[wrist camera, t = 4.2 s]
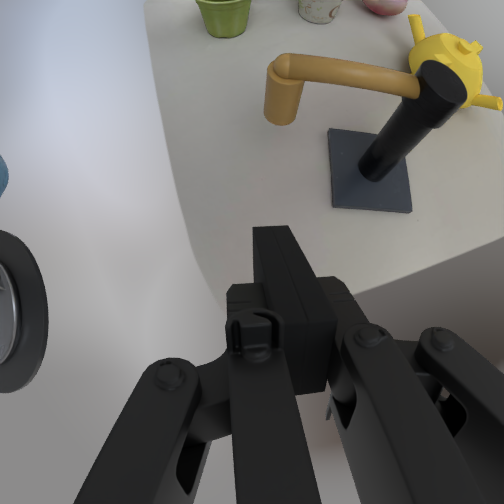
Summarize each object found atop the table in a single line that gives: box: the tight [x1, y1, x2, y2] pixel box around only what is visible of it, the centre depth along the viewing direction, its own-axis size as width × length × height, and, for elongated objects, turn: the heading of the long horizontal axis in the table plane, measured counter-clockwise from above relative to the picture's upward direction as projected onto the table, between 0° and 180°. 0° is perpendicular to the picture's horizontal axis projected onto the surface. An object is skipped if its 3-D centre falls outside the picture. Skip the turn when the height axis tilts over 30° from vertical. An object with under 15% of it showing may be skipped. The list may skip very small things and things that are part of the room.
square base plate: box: [328, 102, 432, 213], centre depth 28 cm, size 10×10×14 cm
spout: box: [264, 53, 468, 129], centre depth 21 cm, size 16×4×8 cm, turn 88°
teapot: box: [408, 14, 503, 111], centre depth 33 cm, size 20×18×11 cm
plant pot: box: [195, 0, 251, 38], centre depth 35 cm, size 9×9×9 cm
